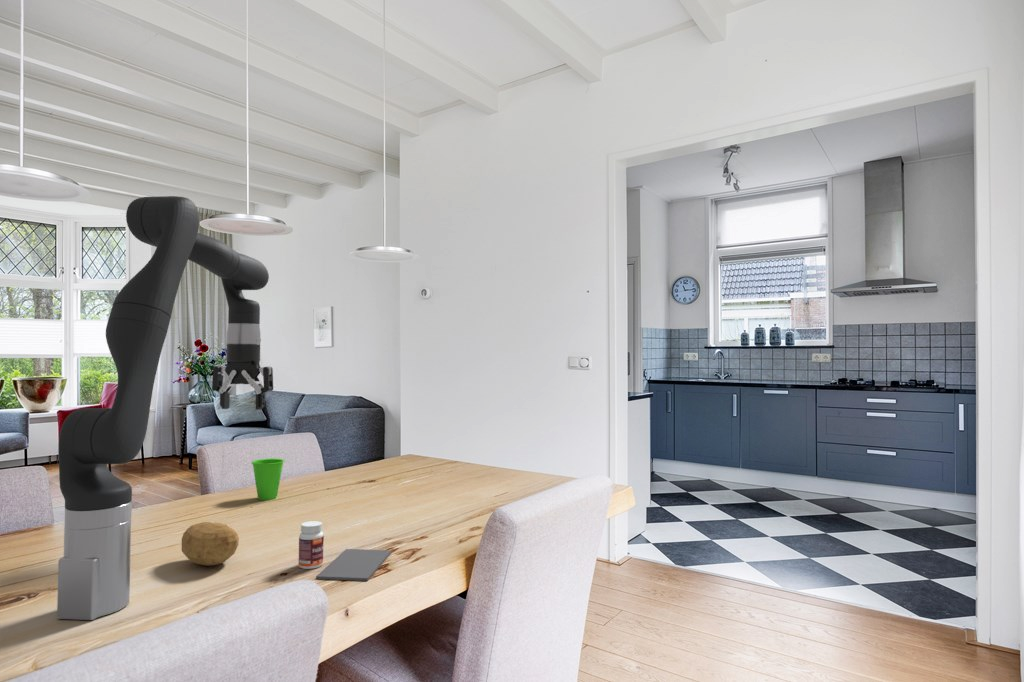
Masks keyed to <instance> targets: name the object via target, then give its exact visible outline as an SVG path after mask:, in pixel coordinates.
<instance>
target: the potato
mask: <svg viewBox="0 0 1024 682" xmlns="http://www.w3.org/2000/svg"><path fill="white" fill-rule="evenodd" d="M239 540H240V538H239V535H238V533H237V531H236V530H235V529H234V528H232V527H231V526H229V525H227V524H225V523H221V522H210V521H202V522H199V523H195V524H193V525H190V526H189V527H188V528H187V529H186V530H185V531H184V532H183V534H182V536H181V551H182V554H183V555H184V556H185V557H186V558H187V559H188V560H189V562H191V563H194V564H197V565H202V566H206V567H207V566H209V567H210V566H211V567H212V566H213V567H214V566H217V565H220V564H223V563H225V562H227V560H229V558H231V557H232V556H233V555H235V554H236V551H237V549H238V546H239Z"/></svg>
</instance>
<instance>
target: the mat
mask: <svg viewBox="0 0 1024 682" xmlns="http://www.w3.org/2000/svg"><path fill="white" fill-rule="evenodd" d="M391 554H392V550H391V549H390V550H388V549H387V550H386V549H362V548H361V549H358V548H356V549H355V548H345V550H343V551H342V552H341V553H340V554H339V555H338V556H336V558H335V559H333V560H332V561H331V562H330V563H329V564H327V566H326V567H325V568H324V569H322V571H320V572H319V573H318V574H317V575H316V576H315V580H335V581H358V582H360V581H362V582H364V581H365V582H368V581H369V580H370V579H371V578H372V576H374V574H375V573H376V572H377V571H378V570H379V568H380V567H381V566H382V565H383V564H384V562H385V561H386V560H387V559H388V558H389V557H390V555H391Z"/></svg>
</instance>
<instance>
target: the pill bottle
mask: <svg viewBox="0 0 1024 682" xmlns="http://www.w3.org/2000/svg"><path fill="white" fill-rule="evenodd" d="M322 529H323V522H321V521H317V520H310V521H309V520H308V521H305V522H302V523H301V524H300V532H301V533H299V535H298V567H299V568H300V569H304V570H313V569H316V568H317V569H318V568H320V567H321V566H323V564H324V539H325V538H324V537H325V536H324V532H323V531H322Z"/></svg>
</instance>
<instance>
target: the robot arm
mask: <svg viewBox="0 0 1024 682" xmlns="http://www.w3.org/2000/svg"><path fill="white" fill-rule="evenodd" d="M125 214H126V215H125V217H126V219H125V220H126V224H127V225H126V226H127V227H128V230H129V232H131V234H132V235H133V236H134V238H135V239H136V240H138V241H140V242H142V243H144V244H146V245H149V246H153V247H156V249H155V251H154V253H153V254H152V256H151V258H150V259H149V260H148V262H146V264H145V265H144V266H143V267H142V268H141V269H139V271H138V272H137V273H136V274H135V275H134V276H133V277H132V278H131V279H130V280H128V281H127V283H126V284H124V286H123V287H122V288H121V289H120V290H119V292H118V293H117V295H116V296H115V298H114V300H113V303H112V306H111V309H110V313H109V316H108V319H107V324H106V328H105V338H106V339H105V340H106V344H107V347H108V350H109V354H110V355H111V358H112V359H113V360H112V361H113V363H114V365H115V368H116V373H117V386H116V391H115V392H116V393H115V396H114V400H113V404H112V406H111V408H110V407H109V408H106V407H104V408H103V407H97V408H95V407H87V408H86V407H85V408H79V409H76V410H74V411H72V412H71V413H69V414H68V415H67V416H66V418H65V419H64V421H63V423H62V424H61V428H60V432H59V434H58V448H57V450H58V451H57V452H58V453H57V454H58V472H59V473H58V474H59V489H60V492H61V494H62V496H63V498H64V525H63V526H64V527H63V531H64V533H63V557H60V558H59V559H58V562H57V564H58V565H57V567H58V568H57V602H56V603H57V604H56V605H57V606H56V619H58V620H59V619H60V620H63V619H64V620H79V621H80V620H82V621H83V620H84V621H86V620H87V621H92V620H95V619H98V618H100V617H103V616H106V615H110V614H113V613H115V612H117V611H119V610H122V609H123V608H125V607H127V606H128V605H129V603H130V595H131V593H130V590H131V588H130V585H131V552H132V549H131V546H132V545H131V544H132V543H131V542H132V541H131V540H132V510H133V509H132V507H133V505H132V502H133V488H132V486H131V484H130V483H129V482H127V481H125V480H122V478H121V479H120V478H119V477H117V476H116V475H115V474H113V473H112V472H111V470H110V469H109V467H108V465H122V464H128V463H129V462H131V461H133V460H134V459H135V458H136V457H137V456H138V455H139V453H140V451H141V449H142V448H143V444H144V441H145V439H146V434H147V430H148V424H149V418H150V411H151V405H152V404H151V403H152V398H153V391H154V384H155V380H156V375H157V371H158V367H159V362H160V360H161V359H160V358H161V354H162V350H163V347H164V343H165V340H166V337H167V333H168V330H169V326H170V324H171V323H170V322H171V320H172V319H171V318H172V315H173V309H174V306H175V305H174V304H175V301H176V297H177V293H178V290H179V286H180V284H181V280H182V278H183V273H184V271H185V268H186V266H187V263H188V261H191V262H193V263H195V264H197V265H199V266H200V267H202V268H204V269H206V271H209V272H211V273H212V274H213V275H215V276H217V277H219V278H221V279H220V280H221V284H222V287H223V290H224V294H225V299H226V302H227V306H228V315H227V316H228V317H227V319H228V321H227V322H228V324H227V330H226V356H225V359H226V366H225V367H224V366H223V365H215V366H214V367H213V373H212V384H211V386H212V387H211V389H212V391H215V392H217V393H219V406H220V407H221V409H222V410H228V409H229V408H230V399H231V397H230V395H231V394H230V393H229V392H230V391H231V390H232V389H233V387H235V385H249V386H250V387H252V389H254V391H255V392H256V394H255V410H256V411H258V410H263V408H264V407H266V406H265V404H266V399H265V398H266V394H267V393H269V392H273V390H274V372H273V371H274V369H273V367H272V366H262V367H261V365H260V361H261V342H262V338H261V328H260V327H261V326H260V323H261V322H260V321H261V316H260V315H261V307H260V306H261V305H260V303H259V302H258V301H255V300H254V299H249V298H245V296H244V294H243V291H258V290H261V289H264V288H265V287H266V285H267V284H268V282H269V279H270V277H269V276H270V275H269V272H268V269H267V267H266V266H265V265H264V264H263V262H261V261H260V260H258V259H256V258H254V257H251V256H248V255H246V254H242V253H239V252H238V251H236V250H235V249H233V248H232V247H230V246H229V245H228V244H226V243H224V242H223V241H221V240H219V239H216V238H215V237H212V236H209V235H206V234H203V233H200V232H199V229H200V214H199V209H198V207H197V205H196V204H195V202H194V201H192V200H191V199H190V198H188V197H184V196H179V195H178V196H175V195H171V196H170V195H169V196H168V195H167V196H142V197H138V198H136V199H134V200H132V201H131V202H130V203H129V205H128V206H127V209H126V212H125ZM225 374H226V375H227V377H226V379H225V381H224V375H225ZM260 374H261V376H262V377H263V382H262V381H261V379H260V378H259V375H260Z"/></svg>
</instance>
